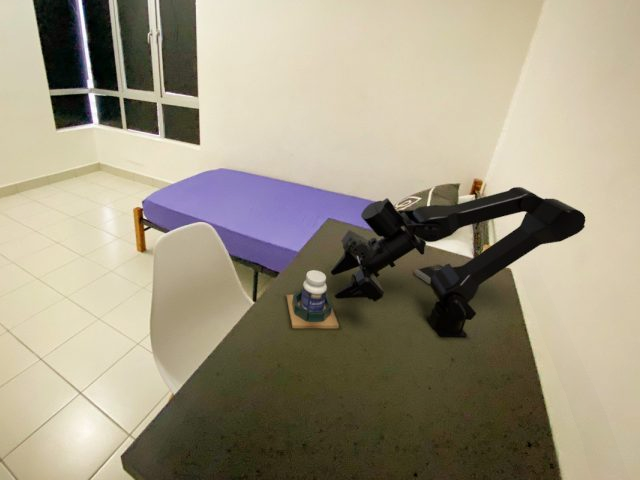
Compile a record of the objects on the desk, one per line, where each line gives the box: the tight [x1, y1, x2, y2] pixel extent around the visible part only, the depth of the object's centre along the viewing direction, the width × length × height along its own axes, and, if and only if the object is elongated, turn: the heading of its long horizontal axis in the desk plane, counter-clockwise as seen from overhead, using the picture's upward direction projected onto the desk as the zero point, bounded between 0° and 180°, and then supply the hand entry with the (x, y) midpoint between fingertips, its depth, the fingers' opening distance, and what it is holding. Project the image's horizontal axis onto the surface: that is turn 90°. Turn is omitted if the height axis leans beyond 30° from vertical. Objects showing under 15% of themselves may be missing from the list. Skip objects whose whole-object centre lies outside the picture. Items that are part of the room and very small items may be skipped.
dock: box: [285, 288, 340, 329], centre depth 83 cm, size 11×11×4 cm
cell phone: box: [414, 264, 444, 285], centre depth 100 cm, size 6×11×1 cm, turn 113°
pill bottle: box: [300, 269, 328, 312], centre depth 81 cm, size 6×6×10 cm
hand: (333, 284), depth 80 cm, fingers open, 9 cm apart
